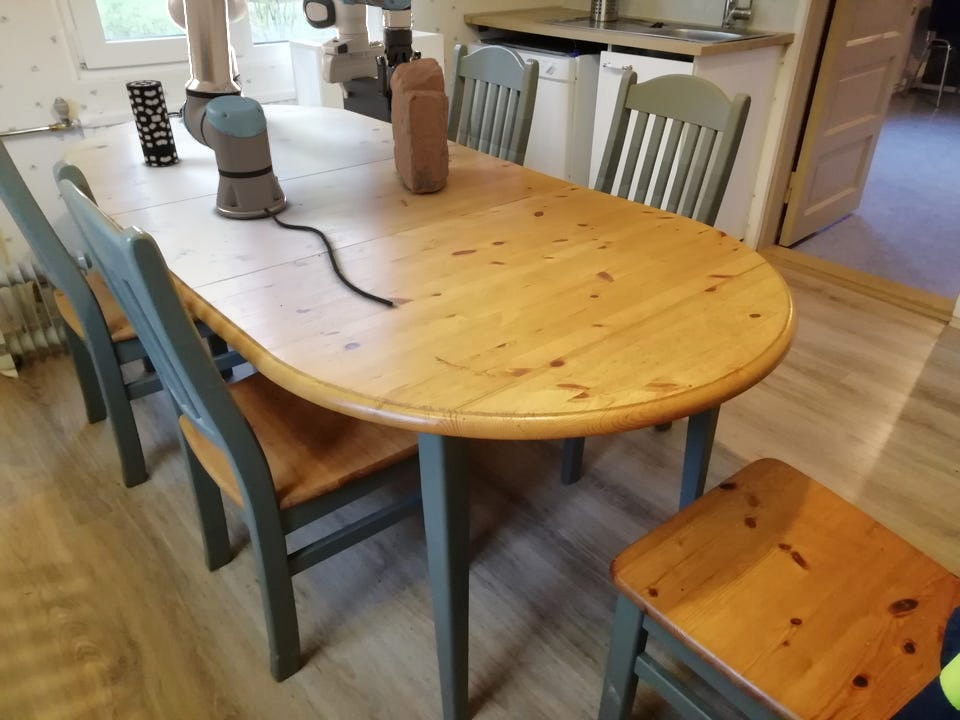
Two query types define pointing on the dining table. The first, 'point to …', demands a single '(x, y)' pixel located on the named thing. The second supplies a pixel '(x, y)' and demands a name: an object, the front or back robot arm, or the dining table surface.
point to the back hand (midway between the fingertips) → (357, 96)
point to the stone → (420, 124)
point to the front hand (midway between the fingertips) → (401, 120)
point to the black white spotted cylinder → (152, 122)
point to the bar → (365, 98)
